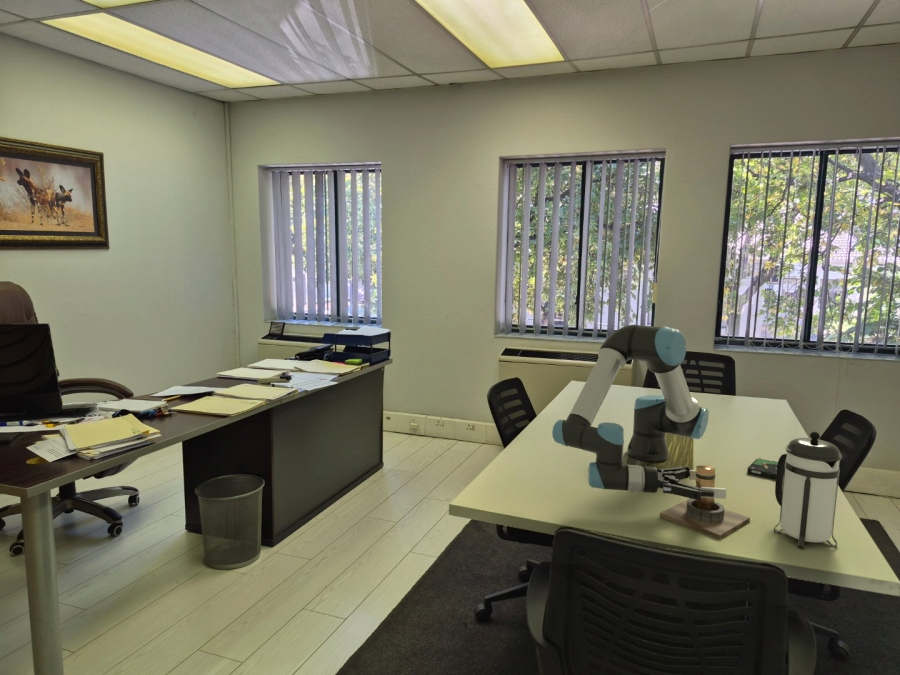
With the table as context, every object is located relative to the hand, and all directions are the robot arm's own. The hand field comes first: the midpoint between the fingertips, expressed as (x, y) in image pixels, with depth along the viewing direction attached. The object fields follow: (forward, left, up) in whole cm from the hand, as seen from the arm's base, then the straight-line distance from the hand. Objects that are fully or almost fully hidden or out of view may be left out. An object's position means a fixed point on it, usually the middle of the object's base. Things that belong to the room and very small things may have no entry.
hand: (719, 484), depth 172 cm
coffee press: (-8, +19, -11) cm, 24 cm away
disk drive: (-55, -8, -11) cm, 56 cm away
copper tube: (+2, -3, -9) cm, 10 cm away
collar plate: (+2, -3, -11) cm, 11 cm away
